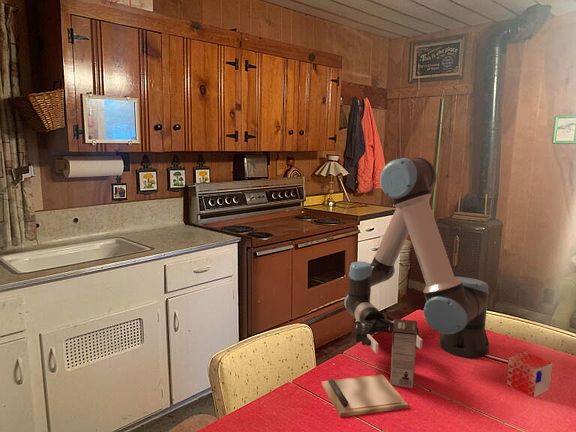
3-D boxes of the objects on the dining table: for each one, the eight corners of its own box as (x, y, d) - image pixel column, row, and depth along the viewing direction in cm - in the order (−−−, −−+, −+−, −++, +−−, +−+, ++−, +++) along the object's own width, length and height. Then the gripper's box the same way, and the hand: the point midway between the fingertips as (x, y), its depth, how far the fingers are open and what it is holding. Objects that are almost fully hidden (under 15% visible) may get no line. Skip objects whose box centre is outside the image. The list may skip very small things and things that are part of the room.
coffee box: (391, 369, 134) (394, 317, 132) (413, 372, 133) (417, 320, 130) (389, 385, 126) (392, 330, 123) (413, 389, 124) (417, 333, 121)
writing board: (382, 377, 129) (382, 368, 129) (407, 408, 115) (408, 397, 115) (321, 384, 125) (322, 375, 125) (340, 417, 111) (340, 406, 110)
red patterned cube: (521, 376, 131) (524, 351, 130) (549, 389, 125) (552, 362, 124) (505, 384, 127) (508, 358, 126) (533, 398, 121) (536, 370, 119)
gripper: (404, 325, 153) (438, 354, 133) (333, 331, 147) (357, 362, 127) (405, 304, 152) (439, 330, 131) (333, 309, 146) (358, 337, 126)
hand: (399, 346), depth 129 cm, fingers open, 13 cm apart
